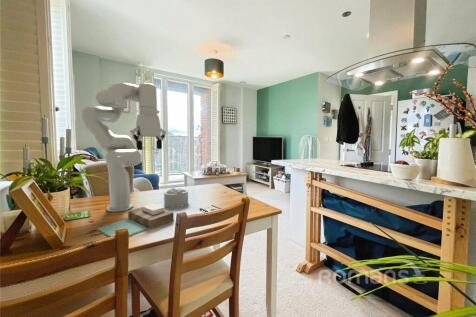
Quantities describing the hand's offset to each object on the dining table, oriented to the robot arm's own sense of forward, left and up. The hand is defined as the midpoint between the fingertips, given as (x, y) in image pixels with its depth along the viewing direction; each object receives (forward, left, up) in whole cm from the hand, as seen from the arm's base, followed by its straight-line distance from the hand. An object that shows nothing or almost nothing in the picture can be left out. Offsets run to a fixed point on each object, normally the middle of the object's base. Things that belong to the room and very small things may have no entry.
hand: (149, 149), depth 100 cm
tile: (+2, 0, -29) cm, 29 cm away
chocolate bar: (+19, +25, -34) cm, 46 cm away
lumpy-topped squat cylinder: (-8, +20, -34) cm, 40 cm away
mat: (+2, -15, -33) cm, 36 cm away
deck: (+2, -2, -33) cm, 33 cm away
